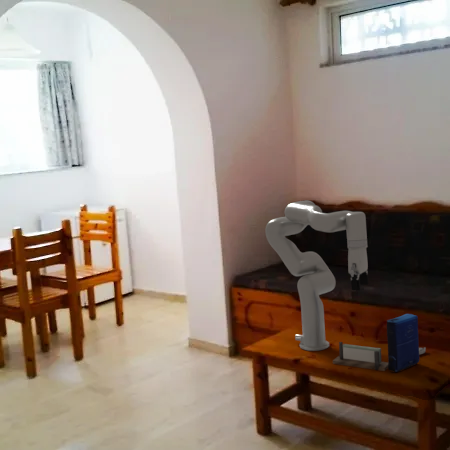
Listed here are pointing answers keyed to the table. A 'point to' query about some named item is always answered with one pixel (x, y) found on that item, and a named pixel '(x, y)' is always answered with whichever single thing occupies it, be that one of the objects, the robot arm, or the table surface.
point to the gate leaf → (360, 353)
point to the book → (402, 342)
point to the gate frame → (361, 364)
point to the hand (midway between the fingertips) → (360, 287)
